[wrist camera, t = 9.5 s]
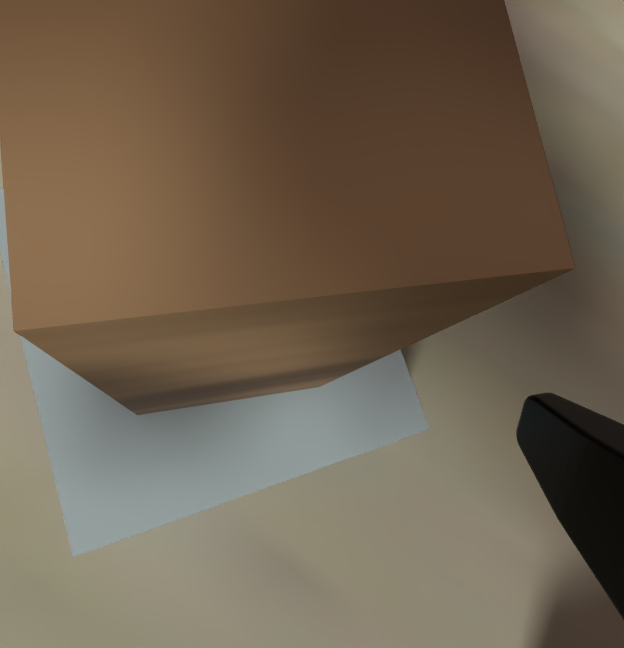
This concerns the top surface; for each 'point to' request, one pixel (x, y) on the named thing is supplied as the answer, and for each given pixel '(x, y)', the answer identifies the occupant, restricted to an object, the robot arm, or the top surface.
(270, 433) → the base block
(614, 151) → the top surface
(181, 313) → the walnut block
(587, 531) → the robot arm
